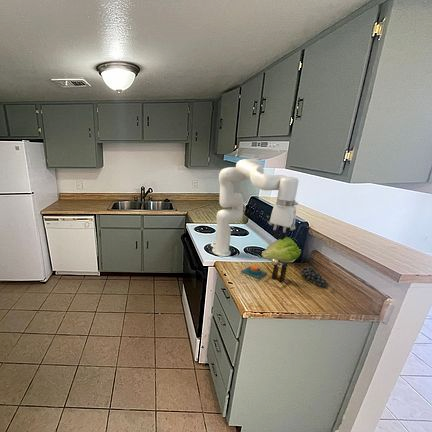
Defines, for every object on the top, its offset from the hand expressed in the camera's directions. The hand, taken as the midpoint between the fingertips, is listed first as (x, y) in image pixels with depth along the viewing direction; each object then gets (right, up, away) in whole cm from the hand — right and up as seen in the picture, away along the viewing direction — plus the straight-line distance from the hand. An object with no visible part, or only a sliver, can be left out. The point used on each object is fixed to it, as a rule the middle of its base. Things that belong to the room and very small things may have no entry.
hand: (279, 238), depth 122 cm
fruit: (+25, -27, +11) cm, 38 cm away
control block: (-4, -24, +20) cm, 31 cm away
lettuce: (+23, -18, +40) cm, 49 cm away
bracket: (+7, -26, +13) cm, 29 cm away
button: (-4, -20, +19) cm, 28 cm away
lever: (+3, -16, +7) cm, 17 cm away
